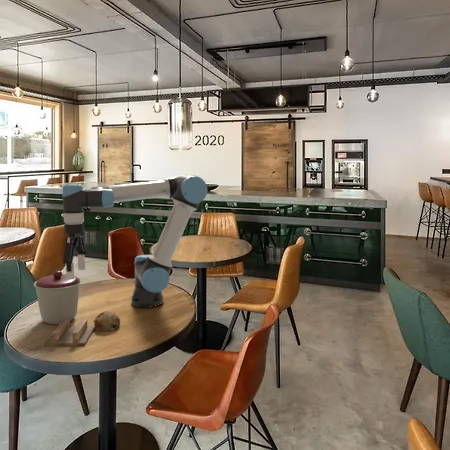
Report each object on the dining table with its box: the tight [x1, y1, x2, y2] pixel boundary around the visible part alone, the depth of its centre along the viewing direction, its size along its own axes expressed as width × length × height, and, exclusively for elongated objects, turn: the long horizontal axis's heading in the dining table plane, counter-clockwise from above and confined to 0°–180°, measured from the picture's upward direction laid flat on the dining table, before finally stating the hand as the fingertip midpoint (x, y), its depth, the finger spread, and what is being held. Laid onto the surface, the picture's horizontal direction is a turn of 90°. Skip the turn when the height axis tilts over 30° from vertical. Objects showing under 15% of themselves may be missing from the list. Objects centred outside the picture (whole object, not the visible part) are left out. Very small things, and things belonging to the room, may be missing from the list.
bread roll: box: [93, 311, 121, 332], centre depth 158 cm, size 10×10×8 cm
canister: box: [33, 270, 82, 325], centre depth 162 cm, size 18×18×21 cm
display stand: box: [44, 319, 96, 347], centre depth 147 cm, size 14×14×4 cm
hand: (76, 274), depth 159 cm, fingers open, 13 cm apart
